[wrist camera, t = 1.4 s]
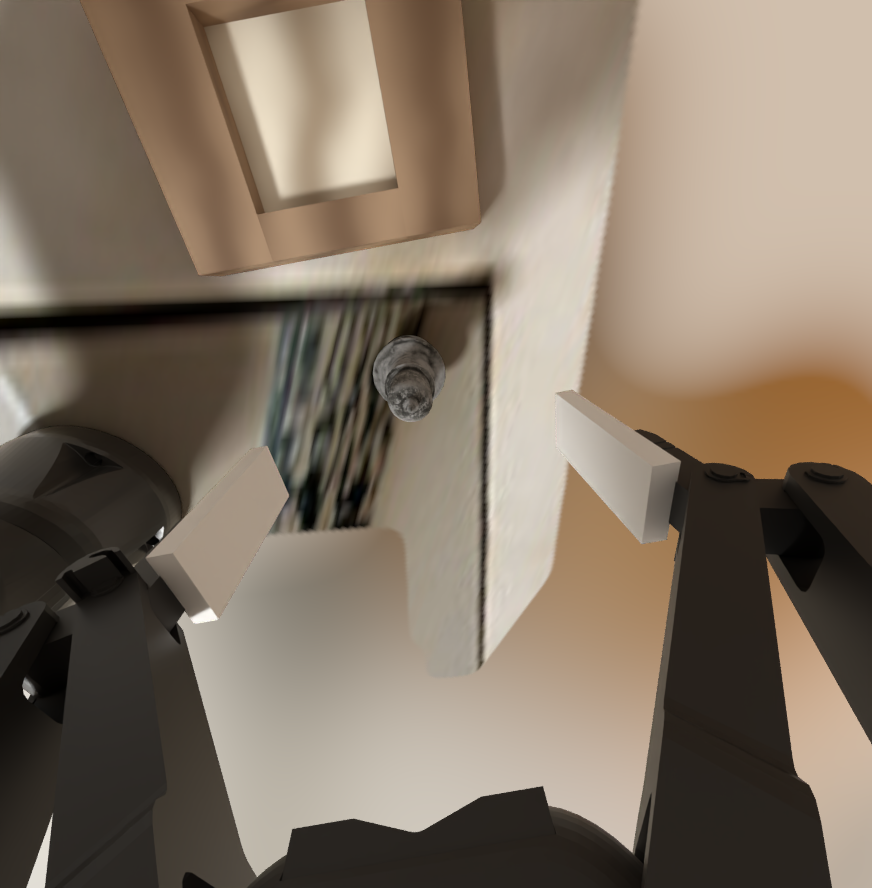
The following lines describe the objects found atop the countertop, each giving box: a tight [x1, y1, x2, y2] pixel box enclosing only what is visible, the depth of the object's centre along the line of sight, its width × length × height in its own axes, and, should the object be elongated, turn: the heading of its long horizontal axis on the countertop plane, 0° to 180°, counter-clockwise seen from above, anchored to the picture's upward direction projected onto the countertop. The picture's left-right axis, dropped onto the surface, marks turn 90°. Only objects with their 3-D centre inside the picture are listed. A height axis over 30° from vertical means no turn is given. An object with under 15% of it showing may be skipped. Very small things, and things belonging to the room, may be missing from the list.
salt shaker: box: [373, 335, 445, 422], centre depth 25 cm, size 6×6×12 cm
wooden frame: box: [80, 0, 481, 276], centre depth 21 cm, size 20×15×3 cm
